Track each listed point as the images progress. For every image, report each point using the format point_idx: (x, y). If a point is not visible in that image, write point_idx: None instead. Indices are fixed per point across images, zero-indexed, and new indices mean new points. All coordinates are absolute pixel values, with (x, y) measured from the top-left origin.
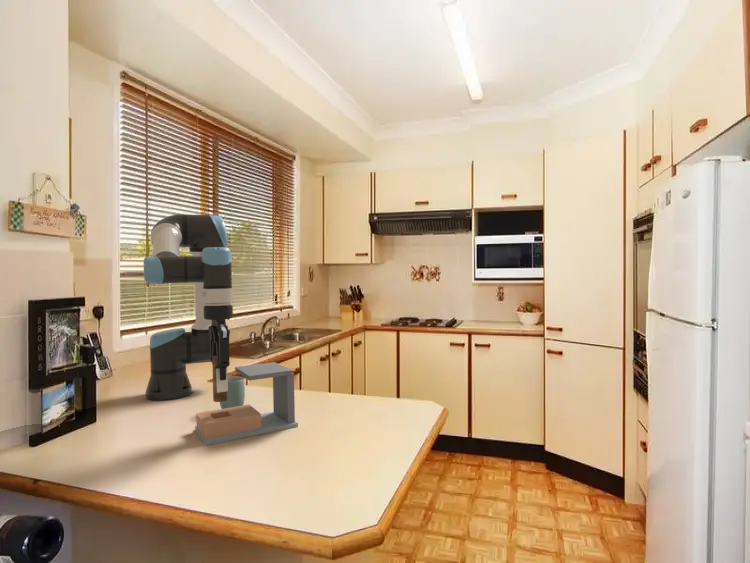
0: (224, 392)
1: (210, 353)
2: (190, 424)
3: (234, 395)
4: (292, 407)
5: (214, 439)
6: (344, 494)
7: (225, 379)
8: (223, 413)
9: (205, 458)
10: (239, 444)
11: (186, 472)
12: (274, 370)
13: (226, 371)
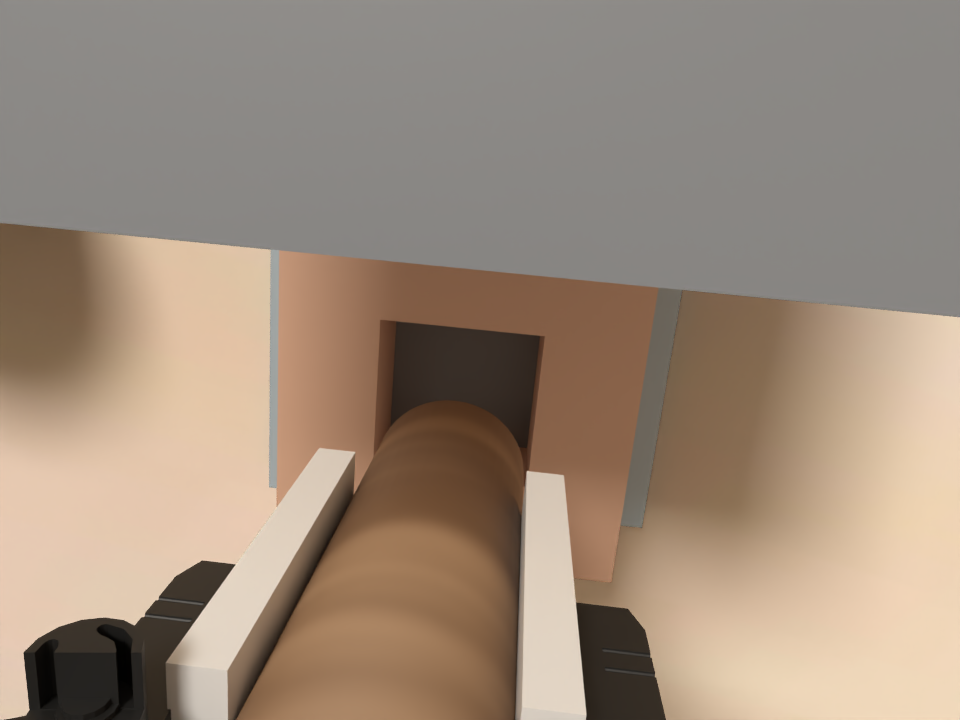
0: (516, 490)
1: None
2: (140, 466)
3: None
4: None
5: (644, 475)
6: None
7: (627, 620)
8: (382, 353)
9: (845, 581)
10: (784, 341)
11: (954, 708)
12: None
13: (576, 664)
